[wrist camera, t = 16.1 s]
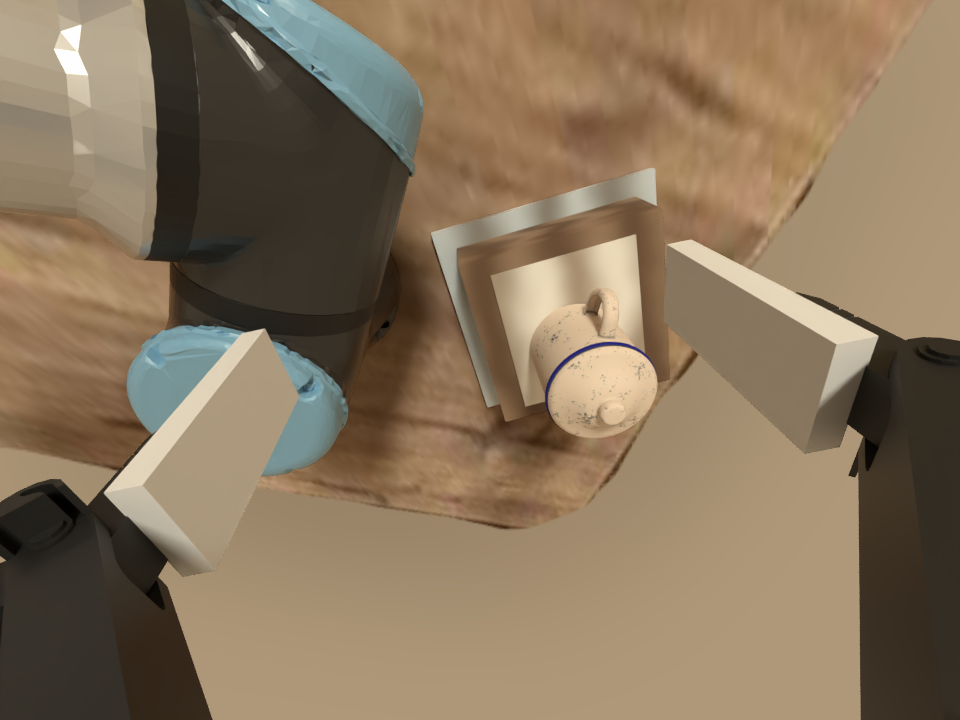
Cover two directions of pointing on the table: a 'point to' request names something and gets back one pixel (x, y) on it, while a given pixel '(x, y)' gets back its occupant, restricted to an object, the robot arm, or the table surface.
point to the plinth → (555, 278)
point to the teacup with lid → (592, 369)
